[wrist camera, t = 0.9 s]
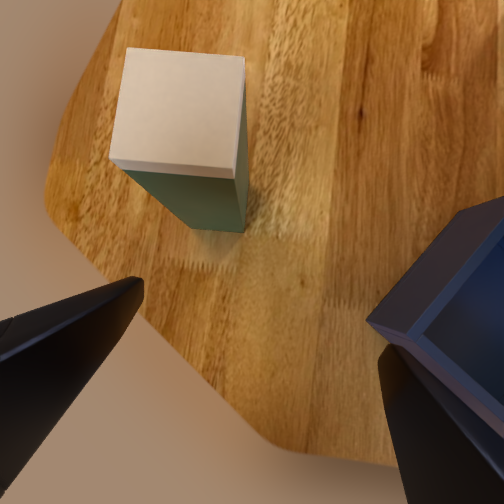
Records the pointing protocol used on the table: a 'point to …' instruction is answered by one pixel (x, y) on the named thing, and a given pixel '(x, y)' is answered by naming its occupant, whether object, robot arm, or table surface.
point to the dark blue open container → (456, 310)
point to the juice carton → (186, 134)
